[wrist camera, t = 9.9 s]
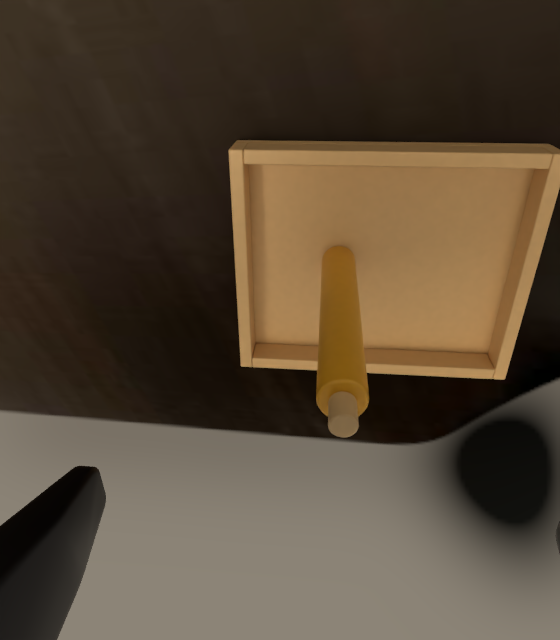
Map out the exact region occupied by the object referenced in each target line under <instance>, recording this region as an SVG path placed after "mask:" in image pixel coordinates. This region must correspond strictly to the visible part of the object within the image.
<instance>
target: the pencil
mask: <svg viewBox="0 0 560 640" xmlns="http://www.w3.org/2000/svg"><path fill="white" fill-rule="evenodd" d="M316 402H317V405H318V407H319V409H320V410H321V411H322V412H323V413H324V414H325V415H326V416H328V428H329V430H330V432H331V433H332V434H334V435H335V436H338V437H349V436H352V435H353V434H355V433H356V431H357V430H358V427H359V424H358V416H359V415H361V414H362V413H363V412H364V411H365V410H366V408H367V406H368V403H369V392H368V382H367V372H366V362H365V353H364V343H363V333H362V323H361V313H360V304H359V294H358V284H357V274H356V264H355V257H354V255H353V253H352V252H351V251H350V250H349V249H348V248H346V247H343V246H335V247H332V248H330V249H328V250H327V251H326V252H325V253H324V255H323V258H322V271H321V294H320V318H319V341H318V365H317V388H316Z"/></svg>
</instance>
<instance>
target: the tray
mask: <svg viewBox="0 0 560 640" xmlns="http://www.w3.org/2000/svg"><path fill="white" fill-rule="evenodd" d="M229 168H230V186H231V203H232V221H233V238H234V256H235V273H236V291H237V308H238V326H239V344H240V361H241V366H242V367H252V366H253V367H260V368H280V369H300V370H317V365H318V341H319V318H320V294H321V271H322V258H323V255H324V253H325V252H326V251H327V250H328V249H330V248H332V247H335V246H343V247H346V248H348V249H349V250H350V251H351V252H352V253H353V255H354V257H355V264H356V274H357V284H358V294H359V304H360V313H361V323H362V333H363V343H364V353H365V362H366V372H367V373H381V374H401V375H421V376H441V377H462V378H482V379H492V378H493V379H502V380H504V379H505V377H506V374H507V370H508V367H509V363H510V360H511V356H512V353H513V349H514V346H515V342H516V339H517V335H518V332H519V328H520V325H521V321H522V318H523V314H524V311H525V307H526V304H527V300H528V297H529V293H530V290H531V286H532V283H533V279H534V276H535V272H536V269H537V265H538V262H539V258H540V255H541V251H542V248H543V244H544V241H545V237H546V234H547V230H548V227H549V223H550V220H551V216H552V213H553V209H554V206H555V202H556V199H557V195H558V192H559V188H560V149H558V148H556V147H554V146H552V145H550V144H527V143H441V142H356V141H270V140H237V141H236V142H235V143H234V144H233V146H232V147H231V148H230V149H229Z"/></svg>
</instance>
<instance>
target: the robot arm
mask: <svg viewBox="0 0 560 640" xmlns="http://www.w3.org/2000/svg"><path fill="white" fill-rule="evenodd" d="M105 502H106V495H105V490H104V487H103V483H102V480H101V476H100V472H99V470H98V469H97V468H96V467H89V466H77V467H75V468H73V469H72V470H70V471H69V472H68V473H67V474H65V475H64V476H63V477H62V478H61V479H59V480H58V481H57V482H55V483H54V484H53V485H51V486H50V487H49V488H48V489H46V490H45V491H44V492H43V493H41V494H40V495H39V496H38V497H36V498H35V499H34V500H32V501H31V502H30V503H29V504H27V505H26V506H25V507H24V508H22V509H21V510H20V511H19V512H17V513H16V514H15V515H13V516H12V517H11V518H10V519H8V520H7V521H6V522H5V523H3V524H2V525H1V526H0V640H57V638H58V636H59V634H60V631H61V629H62V626H63V624H64V621H65V619H66V617H67V614H68V612H69V610H70V608H71V605H72V603H73V601H74V598H75V596H76V593H77V591H78V588H79V586H80V583H81V581H82V578H83V575H84V572H85V568H86V565H87V562H88V559H89V555H90V552H91V549H92V546H93V542H94V539H95V536H96V533H97V530H98V526H99V523H100V520H101V517H102V513H103V510H104V507H105ZM556 541H557V545H558V549H559V553H560V522H559V524H558V527H557V530H556Z"/></svg>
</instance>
